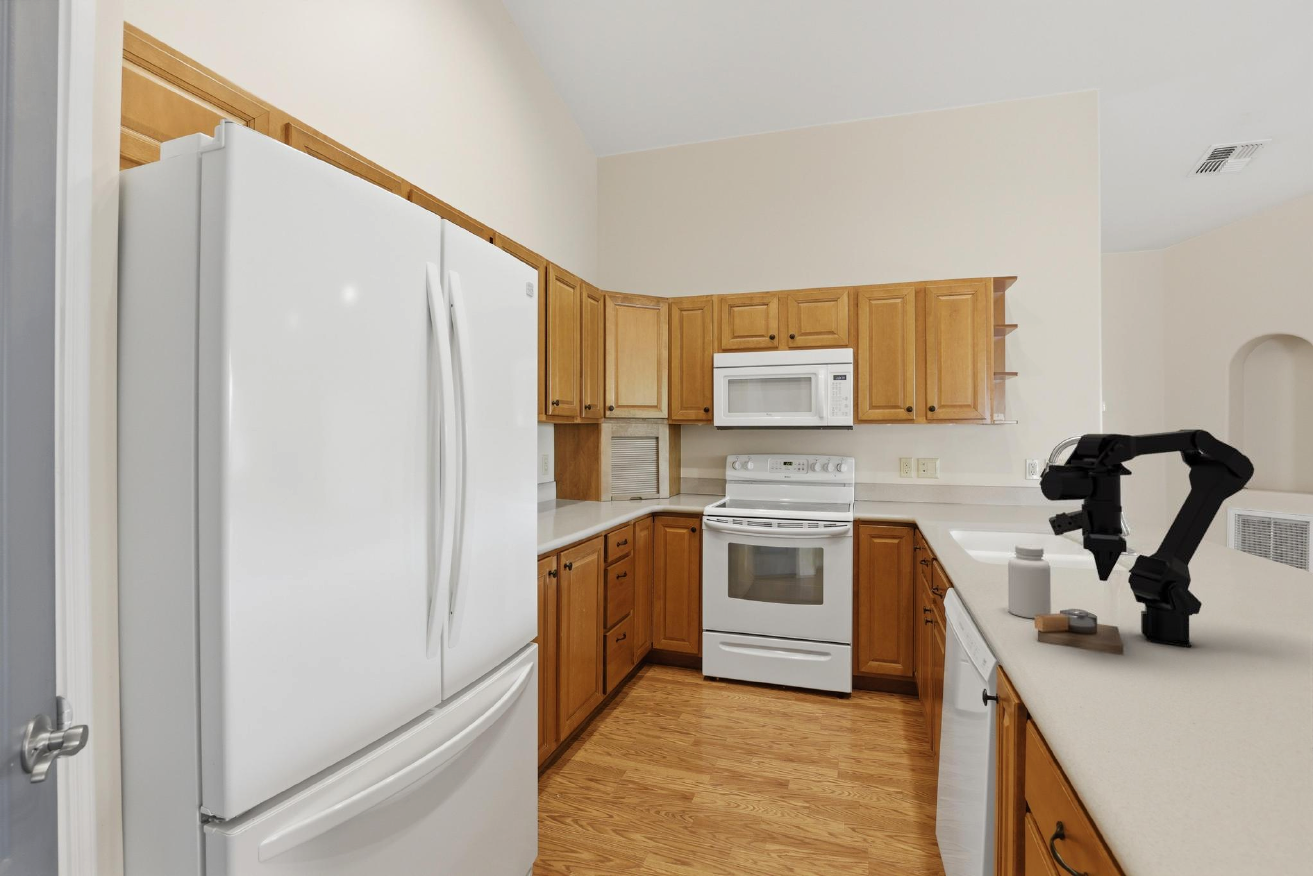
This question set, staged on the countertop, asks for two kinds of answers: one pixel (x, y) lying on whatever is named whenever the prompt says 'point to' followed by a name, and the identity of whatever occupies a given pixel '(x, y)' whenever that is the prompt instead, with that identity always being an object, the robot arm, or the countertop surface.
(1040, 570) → the pill bottle
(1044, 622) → the metal and wood piece
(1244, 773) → the countertop surface
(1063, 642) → the base plate
